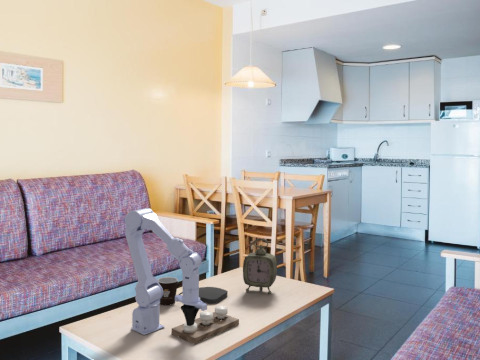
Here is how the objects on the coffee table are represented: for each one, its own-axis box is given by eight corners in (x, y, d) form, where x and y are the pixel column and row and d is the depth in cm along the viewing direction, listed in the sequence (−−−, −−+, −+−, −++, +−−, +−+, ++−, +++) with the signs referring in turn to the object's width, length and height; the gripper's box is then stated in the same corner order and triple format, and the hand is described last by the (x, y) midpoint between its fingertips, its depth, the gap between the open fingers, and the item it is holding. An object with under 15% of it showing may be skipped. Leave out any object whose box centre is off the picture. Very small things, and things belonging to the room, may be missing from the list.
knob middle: (206, 327, 161) (206, 317, 160) (197, 323, 164) (197, 313, 164) (215, 323, 164) (215, 313, 164) (206, 320, 168) (206, 310, 167)
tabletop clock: (242, 292, 206) (243, 239, 204) (247, 287, 214) (248, 235, 213) (273, 296, 202) (274, 241, 200) (277, 290, 210) (278, 238, 208)
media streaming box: (214, 305, 189) (214, 298, 189) (185, 300, 196) (185, 293, 196) (230, 295, 203) (230, 289, 202) (202, 290, 209) (202, 284, 209)
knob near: (189, 339, 155) (190, 328, 155) (180, 335, 158) (180, 324, 158) (199, 335, 158) (199, 324, 158) (190, 331, 162) (190, 321, 161)
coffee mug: (153, 304, 189) (153, 281, 188) (165, 298, 197) (165, 276, 196) (175, 309, 184) (175, 285, 183) (187, 302, 191) (187, 280, 191)
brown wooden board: (194, 344, 152) (194, 338, 152) (171, 333, 159) (171, 328, 159) (238, 324, 169) (238, 319, 169) (215, 316, 177) (216, 311, 177)
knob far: (221, 321, 167) (221, 311, 167) (212, 317, 170) (212, 308, 170) (229, 317, 170) (230, 307, 170) (220, 314, 174) (220, 304, 173)
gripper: (213, 289, 155) (213, 327, 156) (185, 281, 165) (185, 316, 166) (198, 294, 150) (198, 333, 151) (170, 285, 159) (170, 322, 160)
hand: (190, 325), depth 158 cm, fingers closed, pressing on knob near
